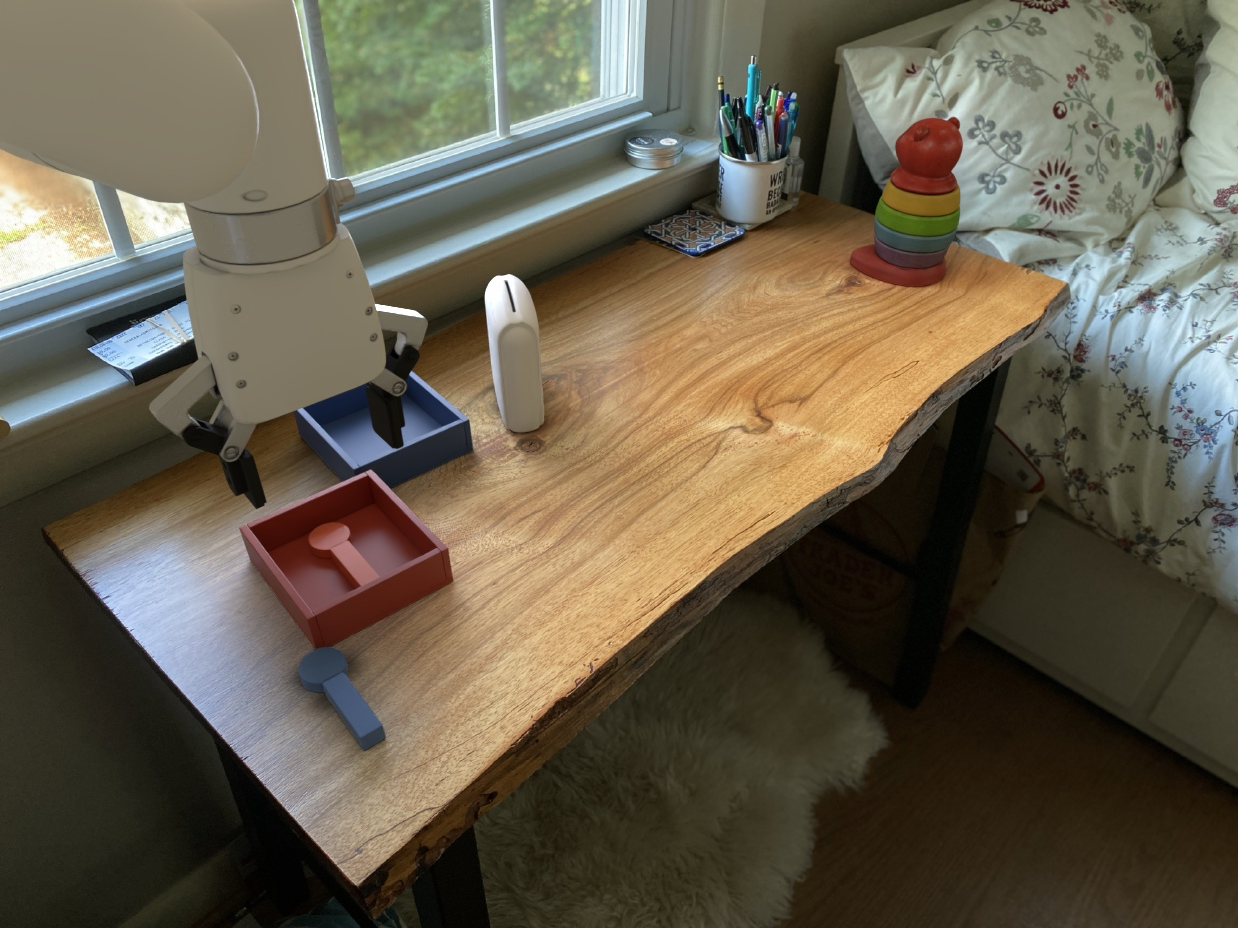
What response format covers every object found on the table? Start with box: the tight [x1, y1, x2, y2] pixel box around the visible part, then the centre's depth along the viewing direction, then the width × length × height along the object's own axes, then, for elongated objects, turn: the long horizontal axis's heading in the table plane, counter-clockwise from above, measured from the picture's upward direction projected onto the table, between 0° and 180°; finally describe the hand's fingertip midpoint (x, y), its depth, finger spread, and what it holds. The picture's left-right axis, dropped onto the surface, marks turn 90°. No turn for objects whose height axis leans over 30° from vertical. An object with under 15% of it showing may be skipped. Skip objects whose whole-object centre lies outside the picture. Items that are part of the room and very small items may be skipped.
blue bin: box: [293, 370, 474, 489], centre depth 84 cm, size 11×12×4 cm
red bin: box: [238, 470, 454, 650], centre depth 71 cm, size 11×12×4 cm
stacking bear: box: [849, 116, 964, 287], centre depth 107 cm, size 11×10×18 cm
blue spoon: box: [297, 646, 387, 751], centre depth 62 cm, size 9×3×1 cm, turn 39°
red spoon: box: [308, 522, 380, 589], centre depth 72 cm, size 9×3×1 cm, turn 39°
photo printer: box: [484, 273, 545, 433], centre depth 86 cm, size 10×4×12 cm, turn 13°
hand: (323, 466), depth 61 cm, fingers open, 9 cm apart
